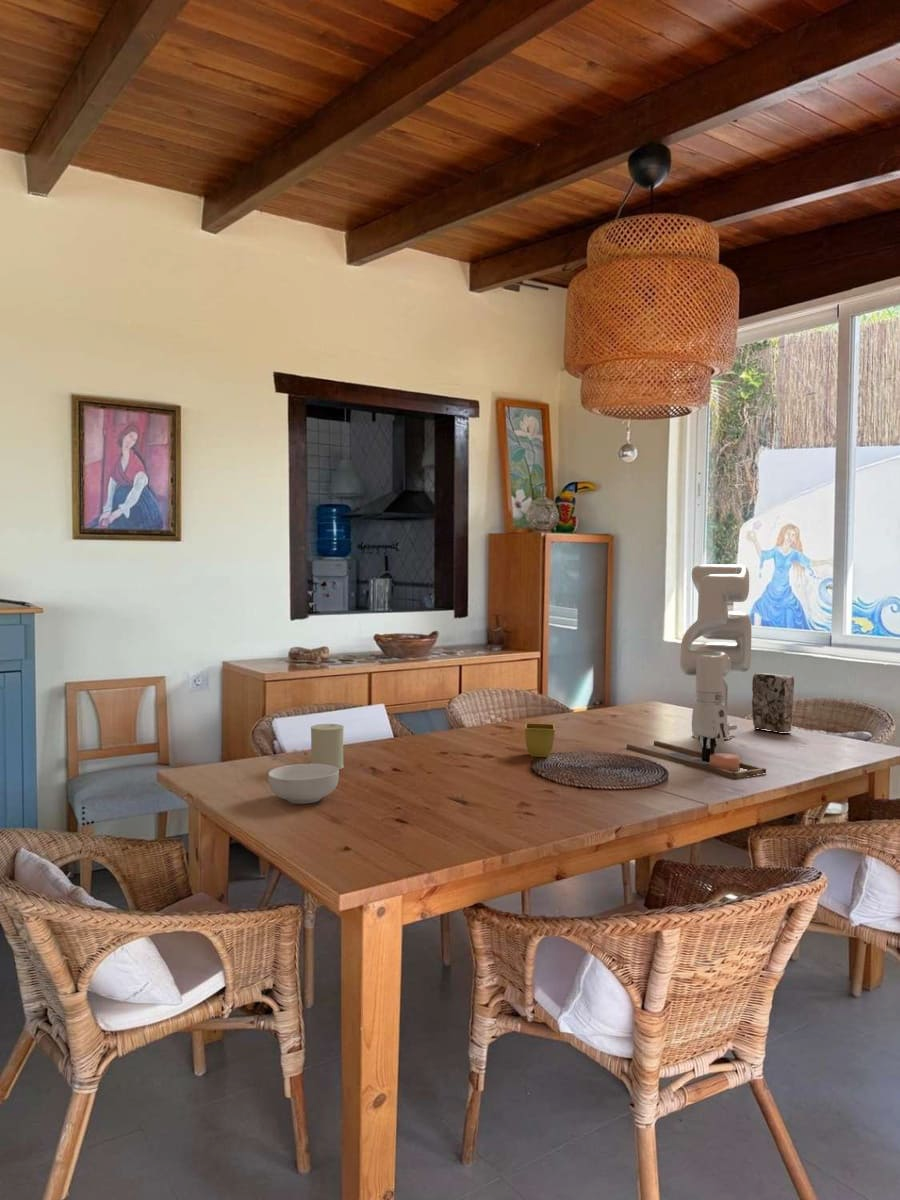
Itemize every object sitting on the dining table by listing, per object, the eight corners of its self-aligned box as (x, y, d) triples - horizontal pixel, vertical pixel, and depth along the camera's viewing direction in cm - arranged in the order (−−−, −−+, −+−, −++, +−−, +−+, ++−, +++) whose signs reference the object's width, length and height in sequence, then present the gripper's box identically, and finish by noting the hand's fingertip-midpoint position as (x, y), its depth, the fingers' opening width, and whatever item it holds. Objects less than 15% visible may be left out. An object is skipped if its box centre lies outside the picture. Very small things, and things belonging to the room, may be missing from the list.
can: (350, 766, 250) (350, 723, 249) (332, 772, 241) (332, 729, 241) (322, 762, 254) (322, 721, 253) (304, 769, 245) (304, 726, 245)
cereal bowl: (307, 787, 226) (307, 759, 226) (353, 798, 215) (353, 769, 215) (253, 800, 213) (253, 771, 212) (299, 813, 202) (299, 782, 202)
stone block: (794, 733, 304) (795, 675, 303) (784, 735, 299) (785, 676, 299) (758, 727, 314) (759, 671, 313) (748, 730, 309) (749, 673, 308)
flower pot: (554, 753, 269) (554, 723, 269) (554, 759, 260) (555, 729, 260) (525, 752, 270) (525, 723, 269) (524, 758, 261) (524, 728, 261)
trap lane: (656, 745, 282) (656, 740, 282) (765, 774, 243) (766, 768, 243) (626, 748, 276) (626, 744, 276) (734, 779, 237) (734, 773, 237)
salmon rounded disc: (721, 764, 254) (721, 752, 254) (745, 769, 248) (745, 757, 248) (703, 767, 249) (704, 755, 249) (728, 773, 243) (728, 760, 243)
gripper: (738, 700, 248) (737, 765, 249) (700, 693, 261) (698, 755, 262) (718, 702, 245) (717, 767, 245) (680, 694, 258) (679, 757, 259)
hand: (708, 761), depth 254 cm, fingers closed
